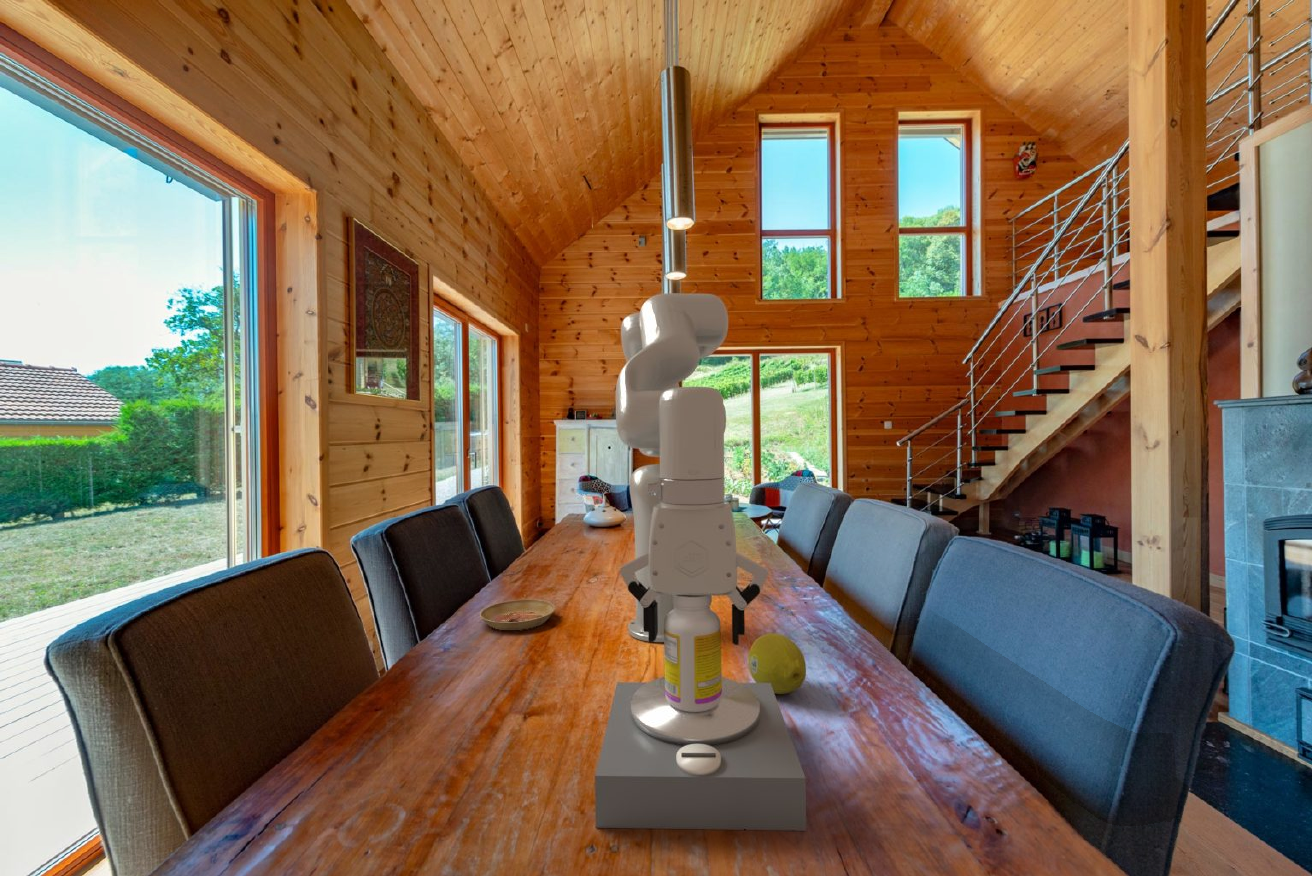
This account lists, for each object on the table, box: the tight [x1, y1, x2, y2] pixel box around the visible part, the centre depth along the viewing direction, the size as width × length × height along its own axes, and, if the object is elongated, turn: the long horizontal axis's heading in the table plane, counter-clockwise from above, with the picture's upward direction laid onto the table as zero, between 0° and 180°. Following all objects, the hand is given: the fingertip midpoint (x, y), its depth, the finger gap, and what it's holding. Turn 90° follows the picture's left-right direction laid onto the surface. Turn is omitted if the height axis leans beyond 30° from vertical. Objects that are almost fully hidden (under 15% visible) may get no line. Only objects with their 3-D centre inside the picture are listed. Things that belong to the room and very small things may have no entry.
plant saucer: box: [479, 598, 556, 631], centre depth 113 cm, size 15×15×3 cm
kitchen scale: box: [594, 681, 807, 832], centre depth 63 cm, size 20×20×6 cm
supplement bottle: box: [663, 595, 723, 712], centre depth 66 cm, size 7×7×13 cm
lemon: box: [747, 632, 807, 695], centre depth 81 cm, size 11×8×8 cm
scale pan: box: [631, 676, 760, 745], centre depth 66 cm, size 15×15×1 cm
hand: (694, 639), depth 66 cm, fingers open, 9 cm apart
